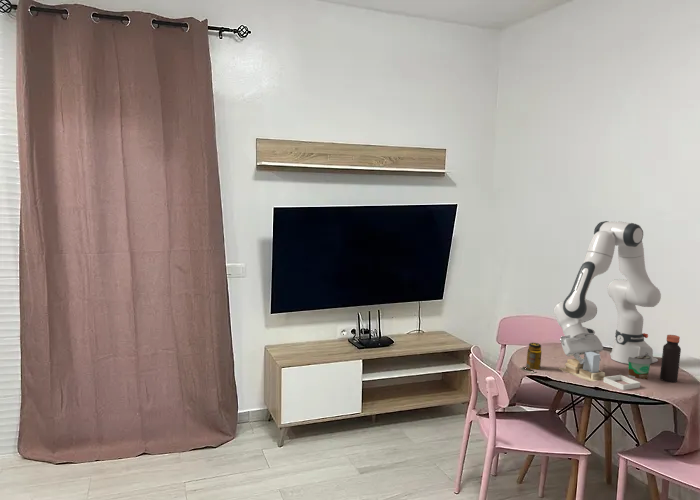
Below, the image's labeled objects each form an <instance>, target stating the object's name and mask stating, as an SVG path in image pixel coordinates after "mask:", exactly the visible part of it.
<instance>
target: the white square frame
mask: <svg viewBox="0 0 700 500" xmlns="http://www.w3.org/2000/svg"><path fill="white" fill-rule="evenodd" d="M602 381H603V383H604V384H607V385H610V386H612V387H614V388H617V389H620V390H622V391H625V390H631V389H638V388H641V382H640V381H638V380H636V379H635V380H634V379H633V378H631V377H629V376H625V375H622V374H617V375H611V376H609V377H604V380H602ZM617 381H622V382H625V383H626V384H623V383H620V382H617Z"/></svg>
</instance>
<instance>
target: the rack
mask: <svg viewBox="0 0 700 500" xmlns="http://www.w3.org/2000/svg"><path fill="white" fill-rule="evenodd" d="M558 369H559V370H560V371H562V372H565V373H567V374H570V375H572V376H574V377H576V378H579V379H580V380H584V381H586V382H588V383H592V382H597V381H604V377H609V376H608V375H606V373H605V371H602V370H601V369H599V372H598V373H591V372H589V371H587V370H584V369H582V368H581V369H580V371H579V373H573V372H571V371H569V370H566V366H564V367H559V368H558Z"/></svg>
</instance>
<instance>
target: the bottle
mask: <svg viewBox="0 0 700 500" xmlns="http://www.w3.org/2000/svg"><path fill="white" fill-rule="evenodd" d="M680 340H681V339H680V336H679V335H676V334H675V335H674V334H667V335H666V343H665V344H664V345H663V346H662V355H661V365H660V371H659V372H660V375H659V378H660V380H661V381H663V382H666V383H676V382H678V378H679V371H680V370H679V368H680V362H681V361H680V360H681V353H682V351H681V350H682V349H681V347H680V345H679V343H680Z"/></svg>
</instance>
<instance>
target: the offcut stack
mask: <svg viewBox="0 0 700 500" xmlns="http://www.w3.org/2000/svg"><path fill="white" fill-rule="evenodd" d="M581 358H582V359H584V357H581ZM566 360H567V361H566V362H565V365H564V367H566V370H569V371H571V372H573V373H579V371H580V369H581V368H582V369H583V364H580V362H579V361H578V360H577V359H576V358H569V359H566Z"/></svg>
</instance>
